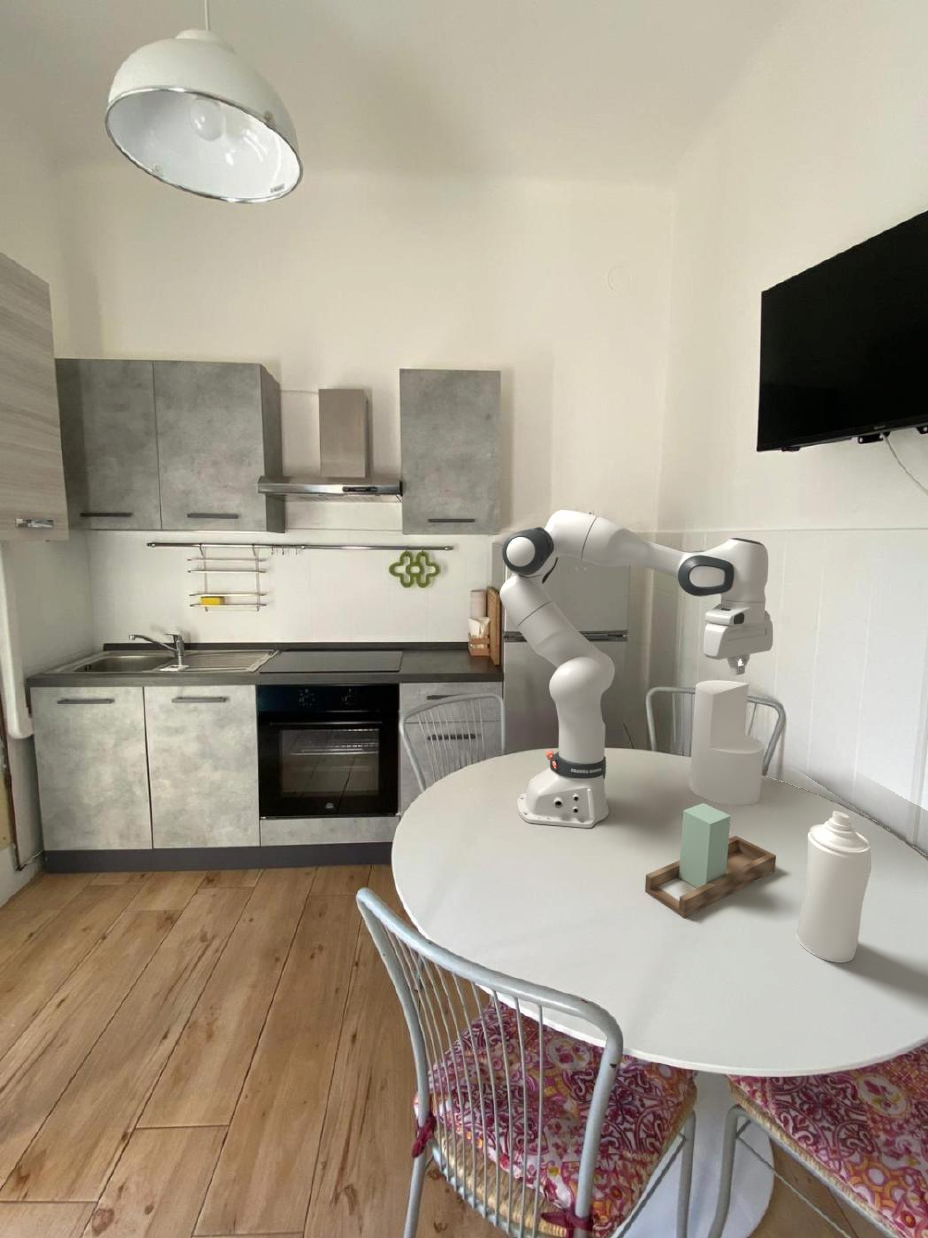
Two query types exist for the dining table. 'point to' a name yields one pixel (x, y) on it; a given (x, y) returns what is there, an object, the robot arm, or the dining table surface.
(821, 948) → the spray can
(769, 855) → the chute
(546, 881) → the dining table surface
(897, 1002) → the dining table surface
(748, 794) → the cylinder
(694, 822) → the block
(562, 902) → the dining table surface
